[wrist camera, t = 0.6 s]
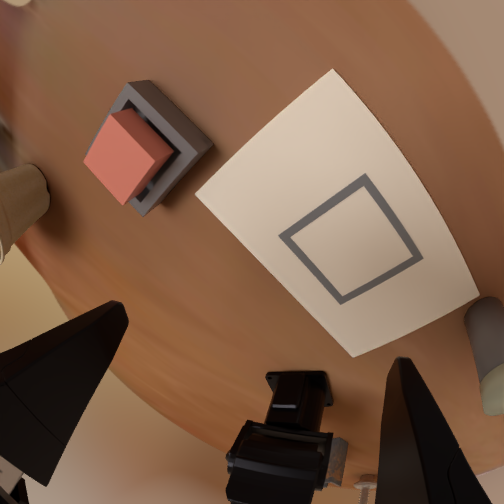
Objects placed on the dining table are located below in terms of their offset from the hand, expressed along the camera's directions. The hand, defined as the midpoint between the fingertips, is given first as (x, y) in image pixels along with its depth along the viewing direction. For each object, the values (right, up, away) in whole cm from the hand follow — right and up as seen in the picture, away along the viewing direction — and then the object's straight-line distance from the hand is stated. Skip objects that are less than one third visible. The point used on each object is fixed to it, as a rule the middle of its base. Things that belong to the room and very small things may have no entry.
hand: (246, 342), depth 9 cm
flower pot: (-24, +10, +19) cm, 32 cm away
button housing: (-7, +11, +12) cm, 18 cm away
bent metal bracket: (+10, -27, +31) cm, 42 cm away
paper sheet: (+7, +3, +12) cm, 14 cm away
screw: (+22, -40, +35) cm, 57 cm away
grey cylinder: (+20, -3, +11) cm, 23 cm away
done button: (-8, +10, +10) cm, 16 cm away
